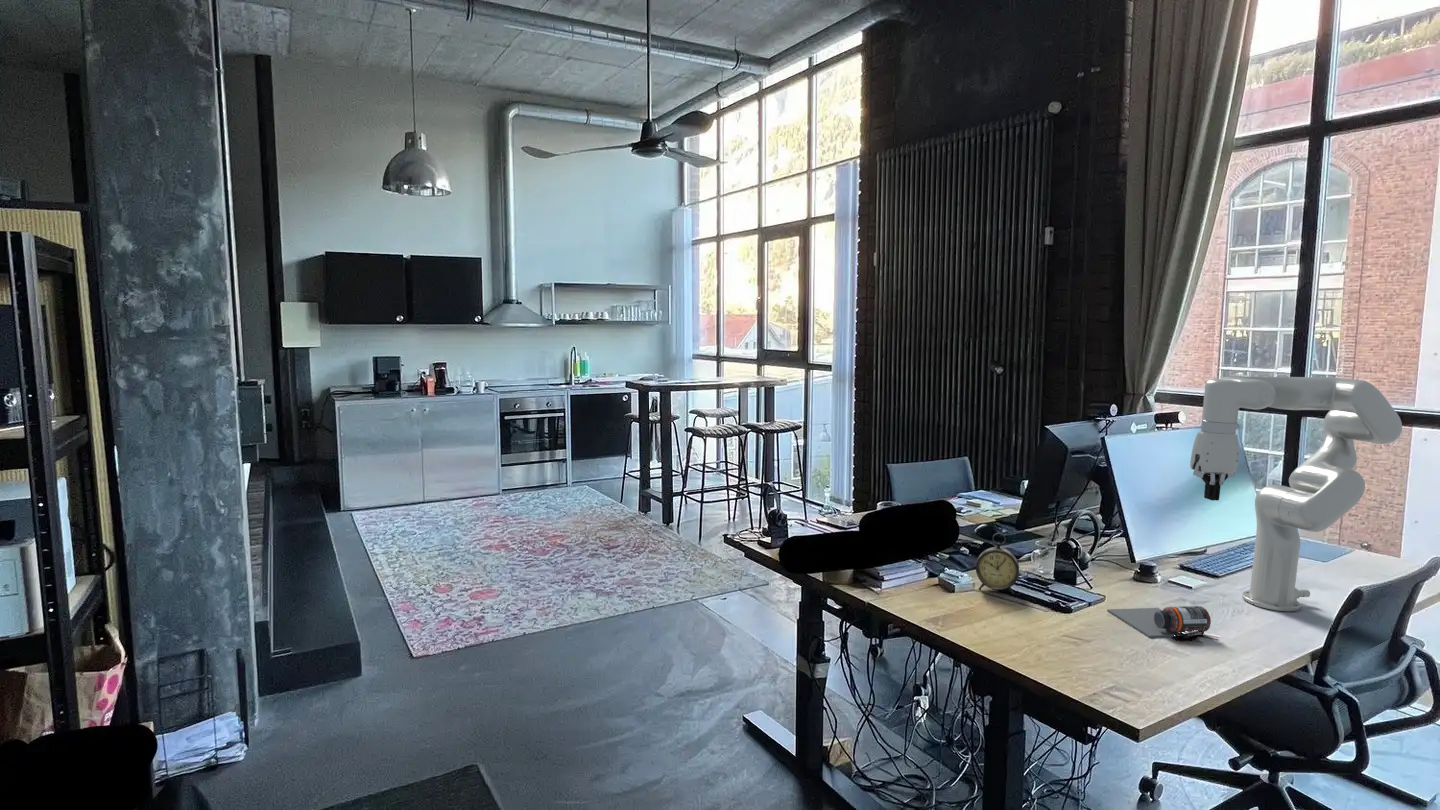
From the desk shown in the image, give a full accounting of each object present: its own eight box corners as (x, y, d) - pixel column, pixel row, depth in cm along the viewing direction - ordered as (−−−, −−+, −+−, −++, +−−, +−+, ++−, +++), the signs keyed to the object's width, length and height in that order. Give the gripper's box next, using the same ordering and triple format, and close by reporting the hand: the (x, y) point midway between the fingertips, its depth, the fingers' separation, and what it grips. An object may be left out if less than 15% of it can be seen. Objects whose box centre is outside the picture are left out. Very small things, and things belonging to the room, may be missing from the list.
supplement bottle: (1200, 634, 185) (1155, 636, 184) (1191, 610, 188) (1147, 611, 187) (1215, 627, 180) (1169, 628, 179) (1206, 602, 183) (1160, 603, 182)
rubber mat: (1157, 609, 199) (1157, 607, 199) (1203, 635, 183) (1203, 633, 183) (1107, 611, 197) (1107, 609, 197) (1149, 637, 181) (1149, 635, 181)
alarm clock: (974, 590, 210) (977, 532, 207) (975, 584, 214) (979, 527, 212) (1017, 597, 205) (1021, 538, 203) (1017, 590, 210) (1021, 532, 208)
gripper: (1234, 425, 199) (1226, 495, 201) (1180, 425, 197) (1174, 496, 199) (1257, 430, 191) (1249, 502, 194) (1202, 430, 190) (1195, 503, 192)
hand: (1211, 499), depth 196 cm, fingers closed
